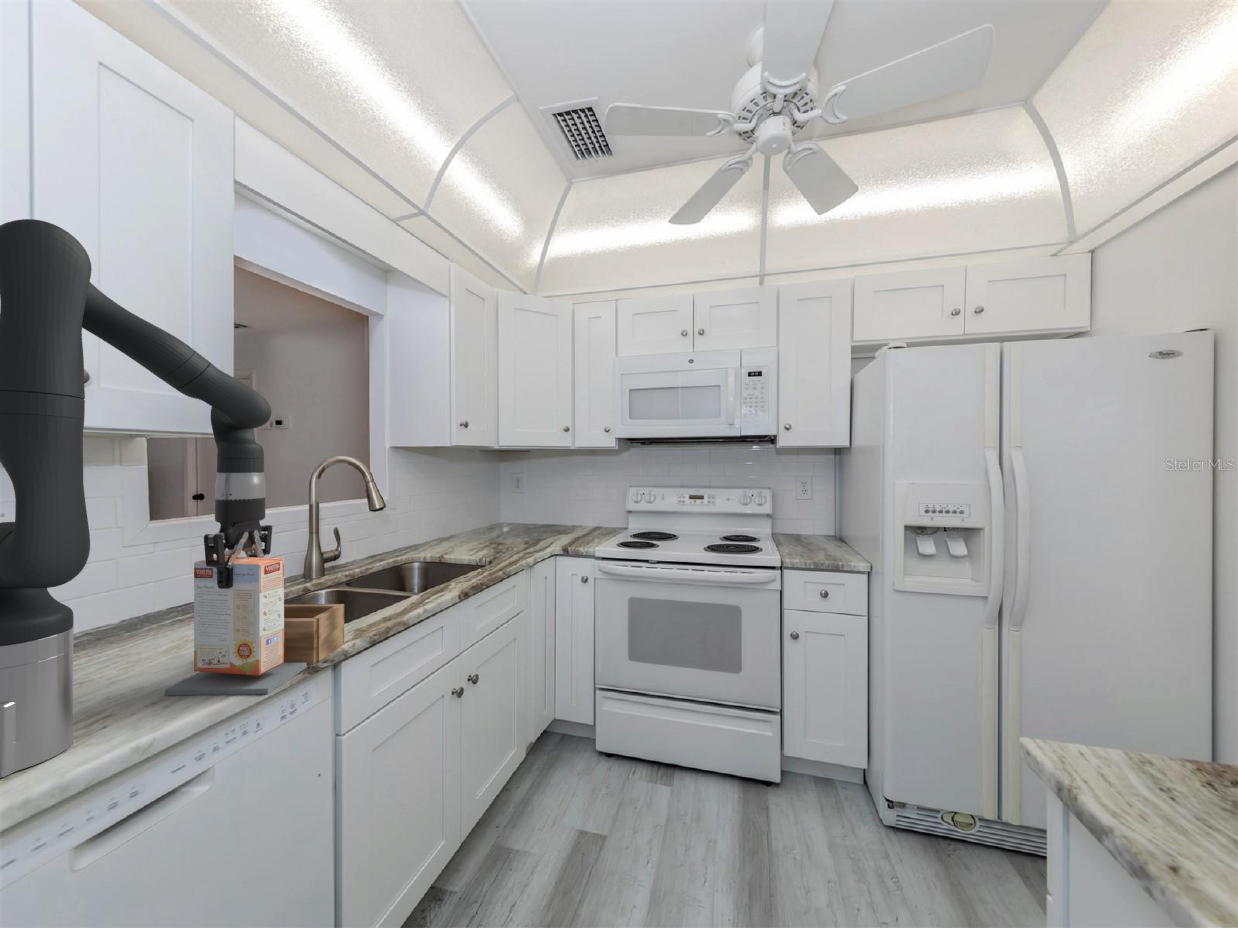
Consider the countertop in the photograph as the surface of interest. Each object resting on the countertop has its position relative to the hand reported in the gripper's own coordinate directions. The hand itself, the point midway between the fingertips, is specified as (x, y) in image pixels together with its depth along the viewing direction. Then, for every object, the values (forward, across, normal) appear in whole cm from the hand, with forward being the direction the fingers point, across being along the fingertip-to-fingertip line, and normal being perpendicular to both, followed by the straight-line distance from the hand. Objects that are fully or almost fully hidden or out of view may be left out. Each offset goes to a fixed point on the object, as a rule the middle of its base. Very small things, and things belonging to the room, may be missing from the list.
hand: (240, 583), depth 89 cm
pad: (+19, 0, 0) cm, 19 cm away
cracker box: (+16, 0, 0) cm, 16 cm away
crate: (+19, +13, 0) cm, 23 cm away
